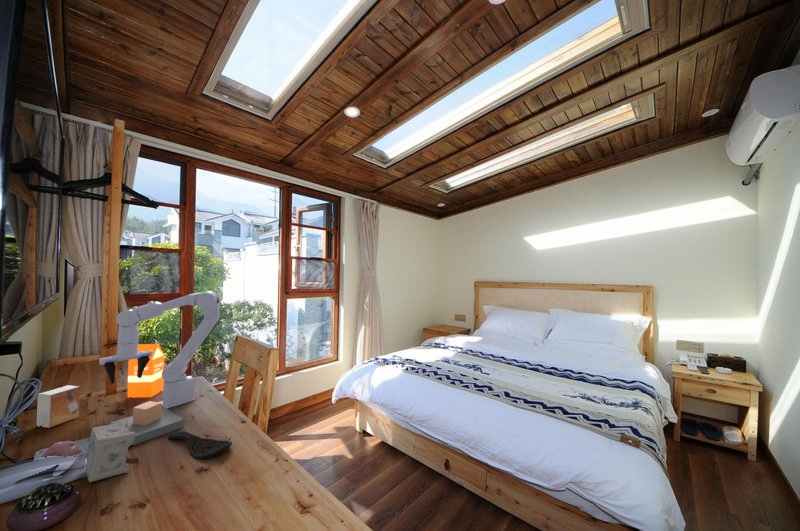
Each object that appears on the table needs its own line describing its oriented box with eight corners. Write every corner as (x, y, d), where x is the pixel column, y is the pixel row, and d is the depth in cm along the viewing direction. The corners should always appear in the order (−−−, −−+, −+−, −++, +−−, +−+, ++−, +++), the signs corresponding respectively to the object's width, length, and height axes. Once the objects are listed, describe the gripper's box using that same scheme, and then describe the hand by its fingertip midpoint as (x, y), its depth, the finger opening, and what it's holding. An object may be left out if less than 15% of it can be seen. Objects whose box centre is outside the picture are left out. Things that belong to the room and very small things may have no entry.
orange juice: (141, 390, 130) (142, 342, 130) (163, 389, 131) (165, 342, 131) (126, 397, 122) (128, 346, 122) (151, 397, 123) (152, 346, 123)
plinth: (163, 413, 109) (163, 406, 109) (183, 427, 100) (183, 419, 100) (110, 430, 98) (110, 422, 98) (127, 447, 89) (127, 438, 89)
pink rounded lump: (74, 476, 79) (90, 444, 82) (52, 478, 75) (70, 445, 78) (50, 467, 82) (66, 437, 85) (28, 469, 78) (46, 438, 81)
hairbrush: (184, 421, 99) (239, 435, 89) (184, 433, 99) (239, 448, 89) (155, 433, 92) (211, 450, 82) (155, 446, 92) (211, 465, 82)
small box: (48, 428, 98) (50, 395, 98) (35, 426, 99) (36, 393, 99) (79, 416, 106) (80, 386, 106) (67, 415, 107) (68, 384, 107)
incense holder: (134, 470, 79) (136, 429, 79) (88, 488, 72) (90, 443, 72) (126, 455, 85) (127, 417, 85) (83, 470, 79) (84, 429, 79)
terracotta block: (149, 416, 102) (149, 401, 102) (160, 418, 101) (161, 402, 101) (132, 423, 97) (133, 407, 97) (144, 425, 96) (145, 409, 96)
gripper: (148, 337, 121) (146, 372, 121) (97, 344, 109) (95, 383, 109) (155, 340, 117) (153, 376, 117) (103, 347, 105) (101, 387, 105)
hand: (126, 380), depth 113 cm, fingers open, 7 cm apart
